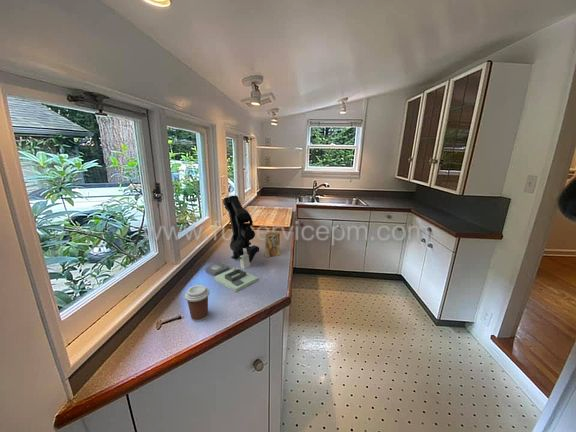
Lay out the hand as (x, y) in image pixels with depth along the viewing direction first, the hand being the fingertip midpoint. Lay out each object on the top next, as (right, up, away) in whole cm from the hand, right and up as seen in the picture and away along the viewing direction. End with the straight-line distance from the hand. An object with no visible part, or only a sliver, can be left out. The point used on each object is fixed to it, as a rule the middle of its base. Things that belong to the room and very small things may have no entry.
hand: (245, 260), depth 137 cm
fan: (-14, -5, -5) cm, 16 cm away
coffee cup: (-11, -15, -41) cm, 45 cm away
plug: (-1, -4, 0) cm, 4 cm away
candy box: (+15, 0, +16) cm, 21 cm away
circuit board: (-2, -7, -14) cm, 16 cm away
